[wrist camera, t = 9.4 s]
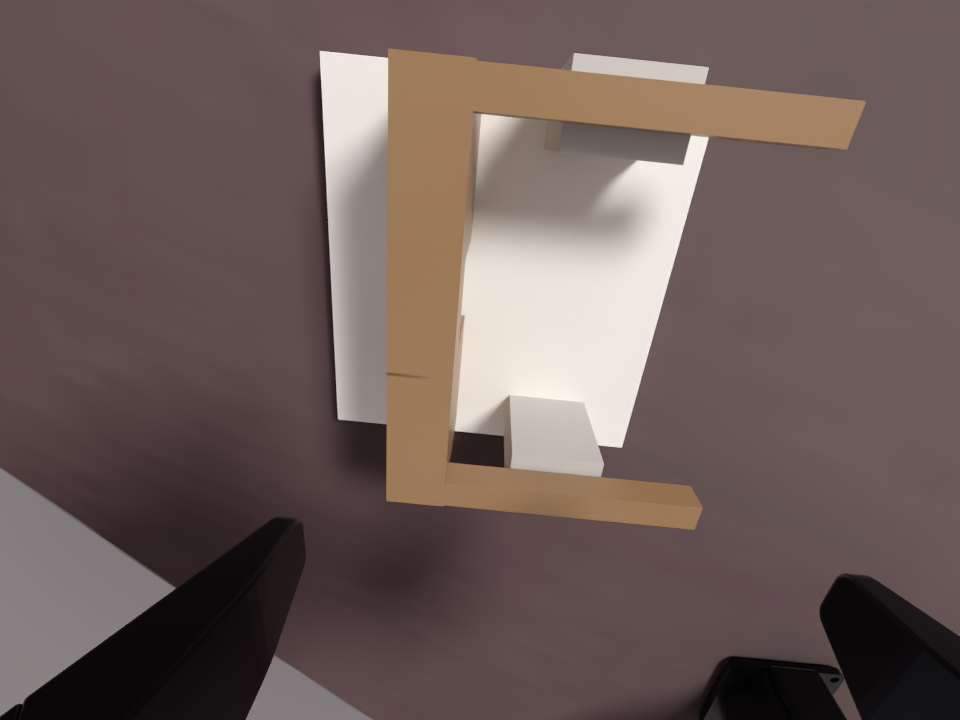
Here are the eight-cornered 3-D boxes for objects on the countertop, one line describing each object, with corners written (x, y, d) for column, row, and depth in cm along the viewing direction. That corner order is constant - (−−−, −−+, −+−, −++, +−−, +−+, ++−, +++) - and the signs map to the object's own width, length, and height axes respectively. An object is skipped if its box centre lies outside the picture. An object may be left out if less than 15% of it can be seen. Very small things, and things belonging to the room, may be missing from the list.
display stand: (707, 96, 15) (798, 76, 10) (616, 433, 20) (649, 516, 16) (330, 56, 14) (257, 19, 10) (345, 406, 20) (302, 481, 16)
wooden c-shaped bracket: (746, 111, 14) (867, 98, 9) (647, 438, 19) (693, 530, 15) (424, 78, 14) (388, 49, 9) (412, 415, 19) (386, 501, 14)
